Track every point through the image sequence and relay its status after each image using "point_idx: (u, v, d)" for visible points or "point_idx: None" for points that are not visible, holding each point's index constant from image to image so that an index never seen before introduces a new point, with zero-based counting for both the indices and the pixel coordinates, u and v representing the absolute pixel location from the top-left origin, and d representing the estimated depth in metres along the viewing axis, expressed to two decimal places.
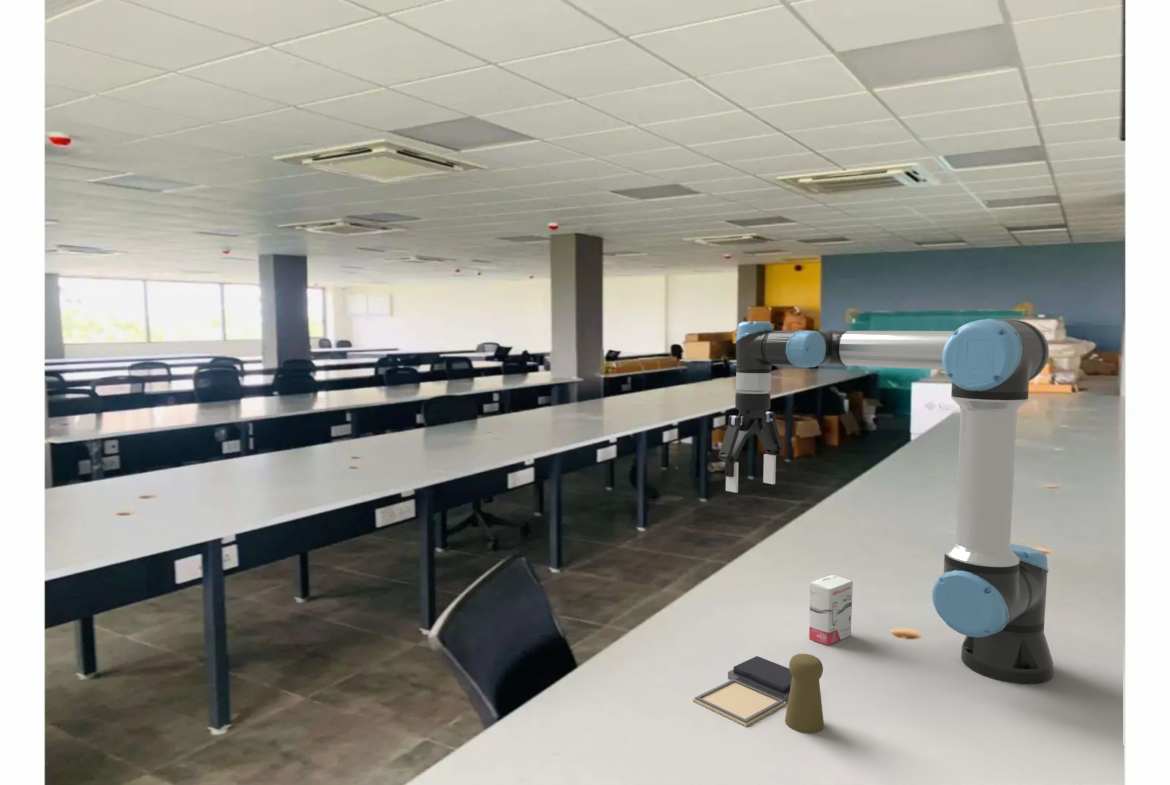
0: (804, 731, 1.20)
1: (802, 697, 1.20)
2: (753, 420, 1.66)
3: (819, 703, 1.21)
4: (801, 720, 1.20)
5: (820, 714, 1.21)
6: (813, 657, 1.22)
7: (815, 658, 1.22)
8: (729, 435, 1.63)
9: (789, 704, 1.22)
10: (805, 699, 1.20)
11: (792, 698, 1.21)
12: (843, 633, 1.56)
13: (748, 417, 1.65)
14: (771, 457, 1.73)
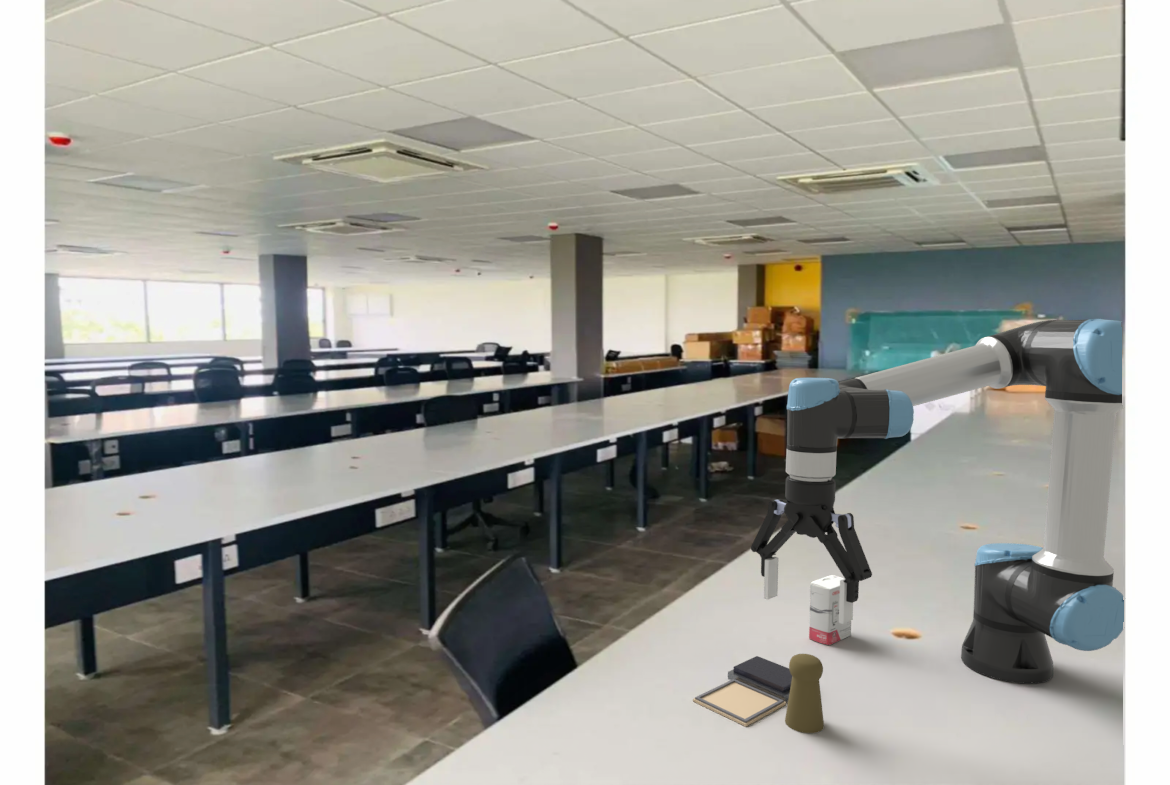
0: (804, 731, 1.20)
1: (802, 697, 1.20)
2: (794, 514, 1.20)
3: (819, 703, 1.21)
4: (801, 720, 1.20)
5: (820, 714, 1.21)
6: (813, 657, 1.22)
7: (815, 658, 1.22)
8: None
9: (789, 704, 1.22)
10: (805, 699, 1.20)
11: (792, 698, 1.21)
12: (843, 633, 1.56)
13: (789, 507, 1.21)
14: None
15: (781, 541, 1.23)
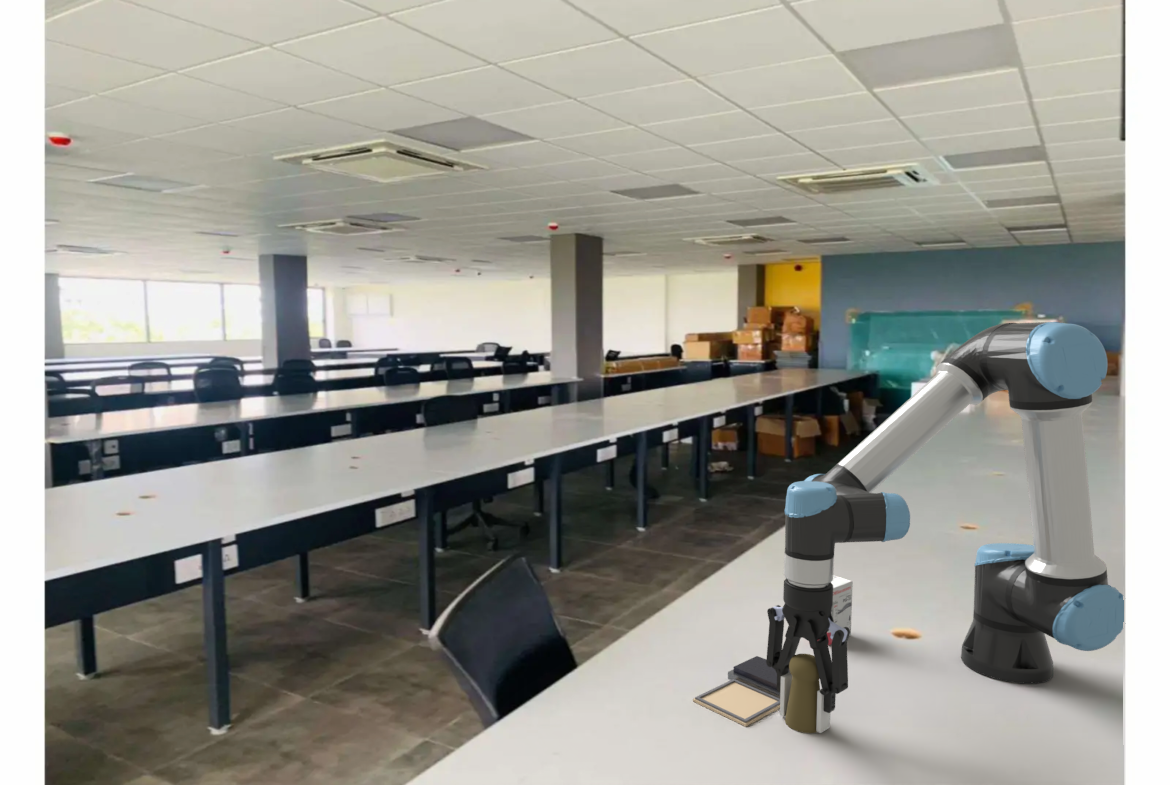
0: (804, 731, 1.20)
1: (802, 697, 1.20)
2: None
3: None
4: (801, 720, 1.20)
5: None
6: (813, 657, 1.22)
7: None
8: None
9: (789, 704, 1.22)
10: (805, 698, 1.20)
11: (792, 698, 1.21)
12: None
13: (786, 609, 1.23)
14: None
15: (790, 650, 1.23)
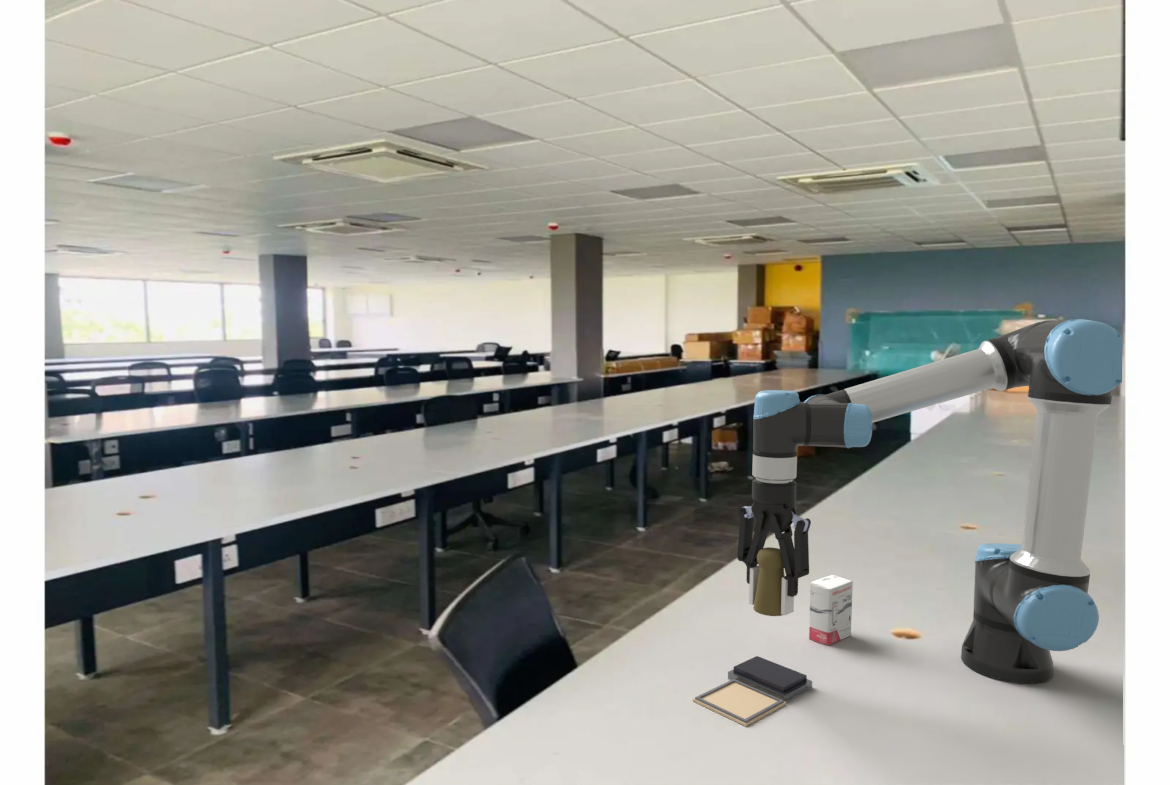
0: (770, 614, 1.32)
1: (768, 584, 1.33)
2: None
3: None
4: (767, 604, 1.33)
5: None
6: (779, 549, 1.34)
7: None
8: None
9: (757, 592, 1.35)
10: (771, 585, 1.33)
11: (759, 586, 1.34)
12: (843, 633, 1.56)
13: (755, 506, 1.35)
14: None
15: (758, 544, 1.36)
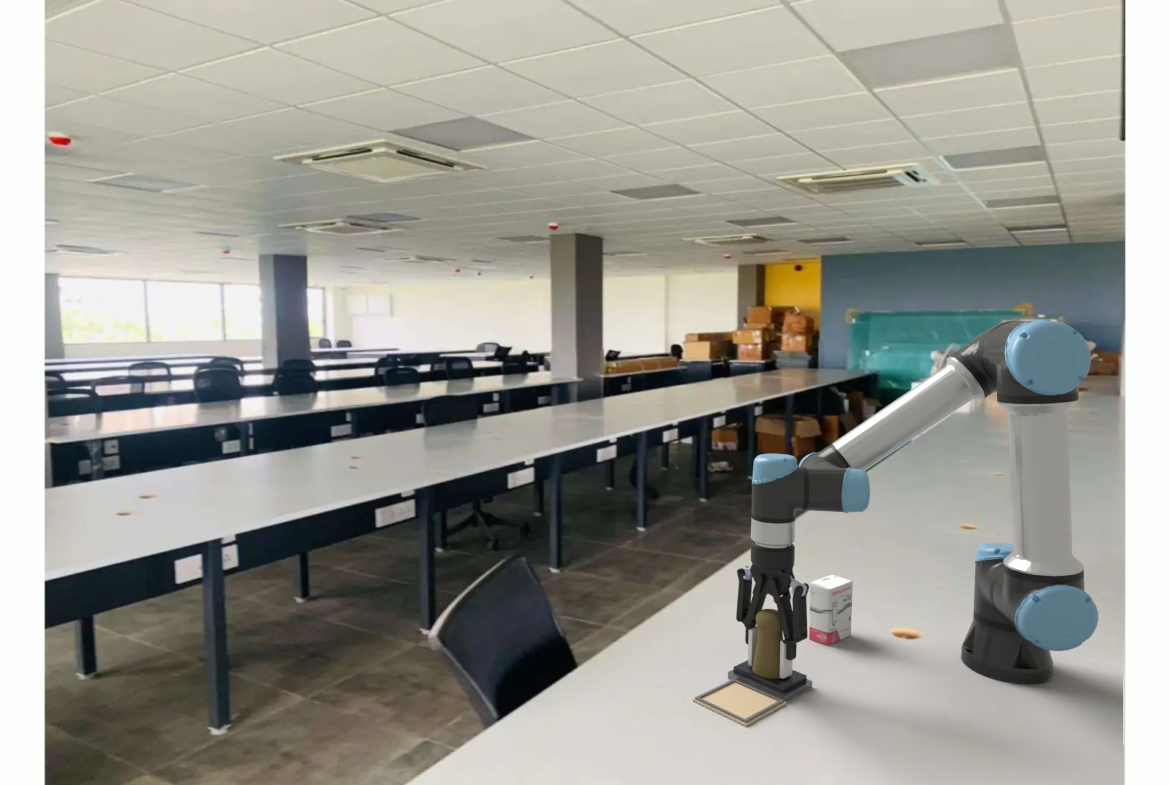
0: (768, 677, 1.33)
1: (767, 646, 1.34)
2: None
3: None
4: (766, 667, 1.34)
5: None
6: (777, 611, 1.35)
7: None
8: None
9: (756, 653, 1.36)
10: (770, 648, 1.34)
11: (758, 648, 1.35)
12: (843, 633, 1.56)
13: (754, 568, 1.36)
14: None
15: (757, 606, 1.37)
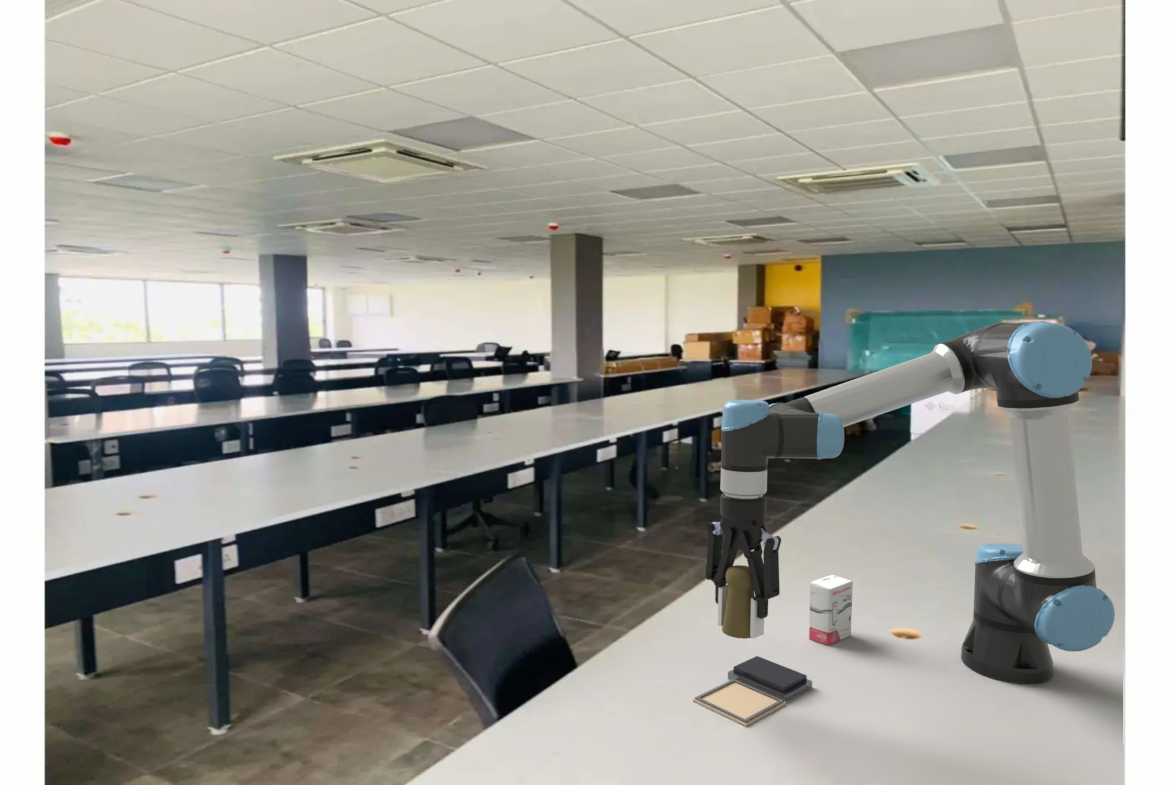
0: (738, 636, 1.25)
1: (736, 604, 1.26)
2: None
3: None
4: (736, 626, 1.25)
5: None
6: (748, 567, 1.27)
7: None
8: None
9: (725, 612, 1.28)
10: (740, 606, 1.25)
11: (728, 606, 1.27)
12: (843, 633, 1.56)
13: (723, 522, 1.28)
14: None
15: (727, 562, 1.29)
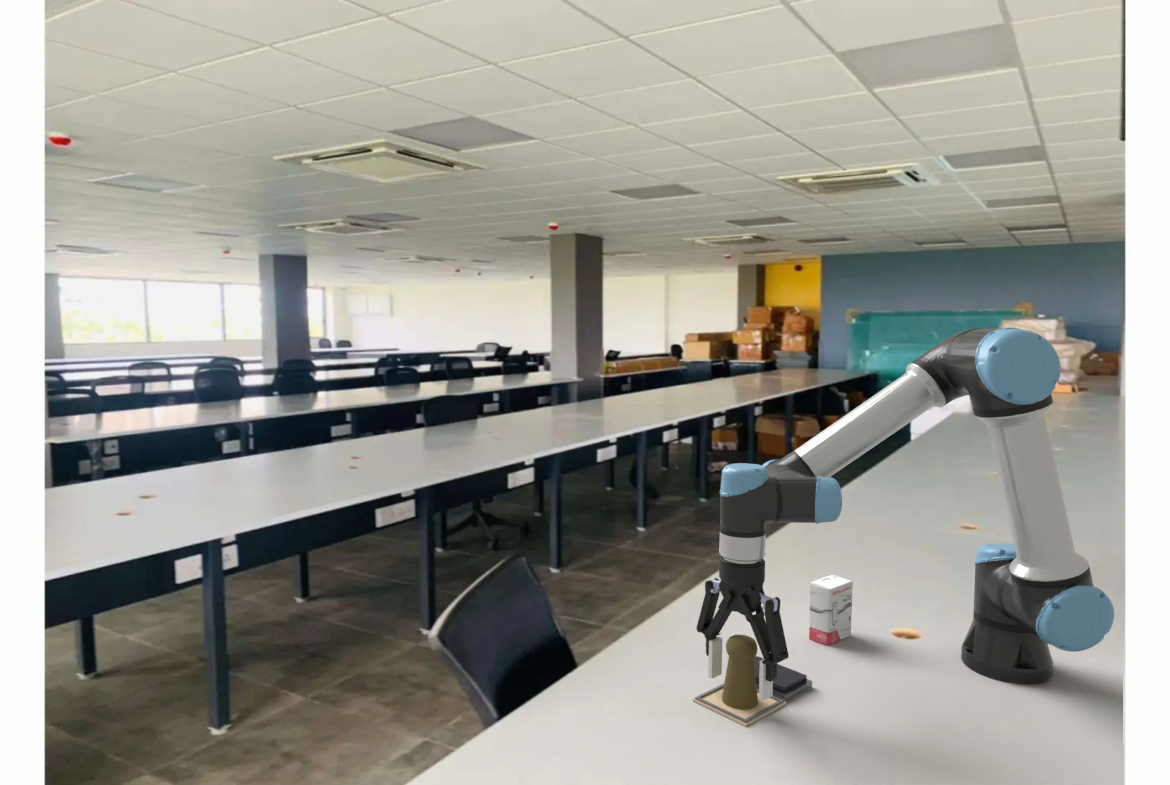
0: (738, 707, 1.26)
1: (736, 675, 1.27)
2: None
3: (753, 681, 1.27)
4: (736, 697, 1.26)
5: (754, 692, 1.27)
6: (749, 638, 1.28)
7: (750, 639, 1.28)
8: None
9: (725, 682, 1.29)
10: (740, 677, 1.26)
11: (728, 677, 1.28)
12: (843, 633, 1.56)
13: (723, 585, 1.29)
14: None
15: (721, 620, 1.30)
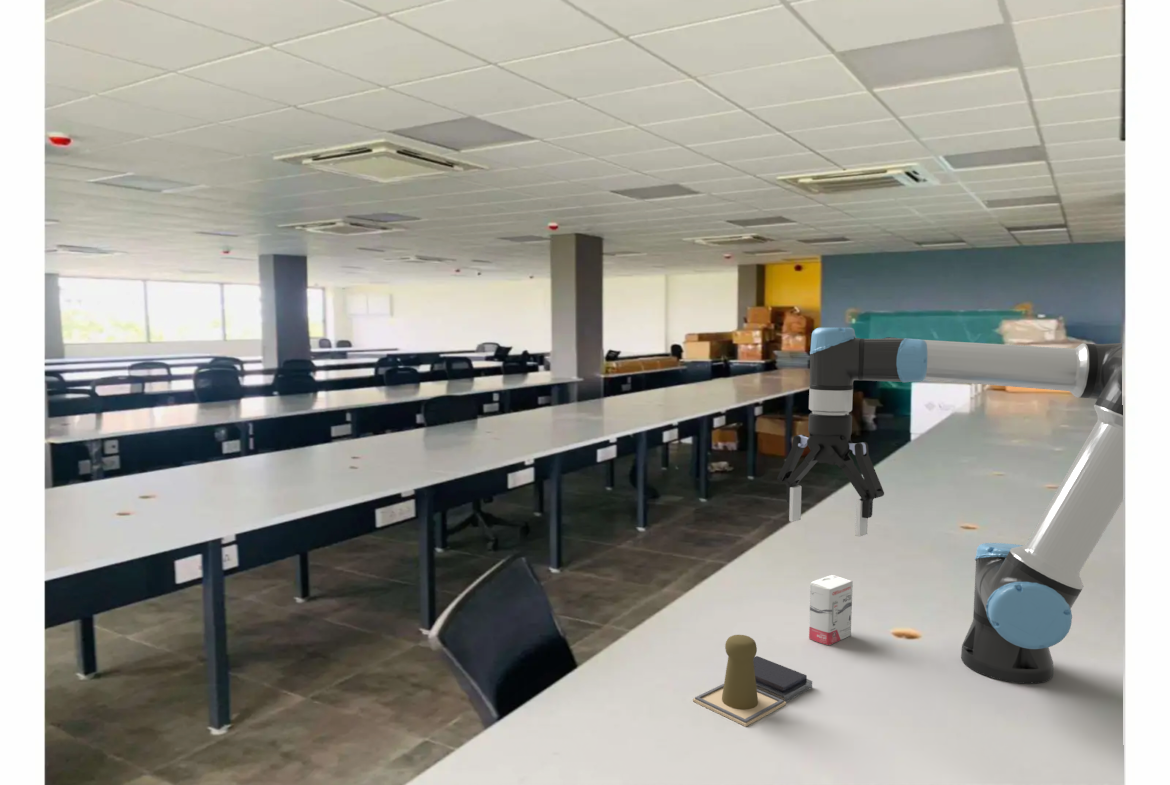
0: (738, 707, 1.26)
1: (736, 675, 1.27)
2: None
3: (753, 681, 1.27)
4: (736, 697, 1.26)
5: (754, 691, 1.27)
6: (748, 638, 1.28)
7: (749, 639, 1.28)
8: None
9: (725, 682, 1.29)
10: (739, 677, 1.26)
11: (727, 677, 1.28)
12: (843, 633, 1.56)
13: (812, 440, 1.40)
14: None
15: (804, 470, 1.42)
